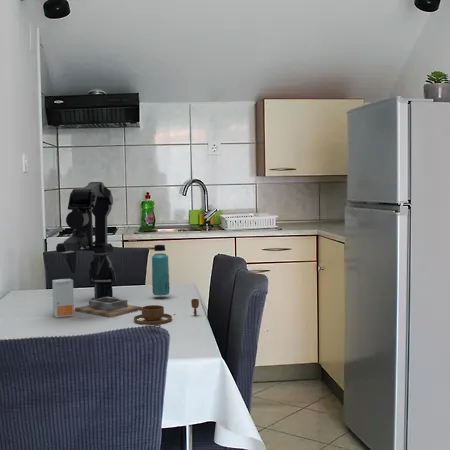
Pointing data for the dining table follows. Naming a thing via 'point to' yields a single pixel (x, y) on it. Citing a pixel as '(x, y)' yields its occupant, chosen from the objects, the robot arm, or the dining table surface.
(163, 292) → the beverage bottle
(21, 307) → the dining table surface
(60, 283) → the skincare box
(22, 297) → the dining table surface
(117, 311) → the duct collar
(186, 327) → the dining table surface
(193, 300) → the place setting
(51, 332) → the dining table surface
